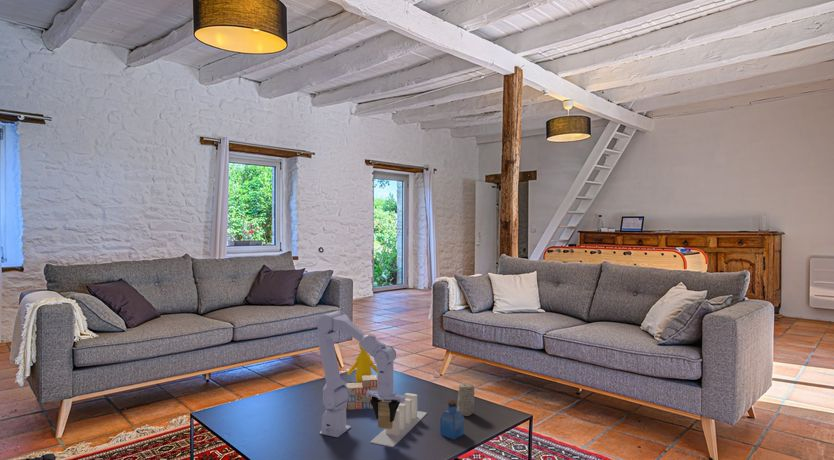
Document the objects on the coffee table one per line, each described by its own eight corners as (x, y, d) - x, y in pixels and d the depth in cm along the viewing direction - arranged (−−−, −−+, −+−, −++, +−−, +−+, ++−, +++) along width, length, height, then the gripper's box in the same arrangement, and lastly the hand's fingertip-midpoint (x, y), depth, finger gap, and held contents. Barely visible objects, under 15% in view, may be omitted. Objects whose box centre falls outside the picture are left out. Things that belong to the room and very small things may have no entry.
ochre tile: (390, 429, 168) (390, 404, 168) (378, 427, 170) (378, 402, 170) (392, 427, 170) (392, 402, 170) (380, 425, 172) (380, 400, 172)
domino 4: (409, 424, 184) (409, 400, 184) (398, 422, 186) (398, 399, 186) (411, 422, 186) (411, 399, 186) (400, 420, 188) (400, 397, 188)
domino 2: (403, 429, 179) (403, 406, 179) (392, 427, 181) (392, 404, 181) (405, 427, 181) (405, 404, 181) (394, 425, 183) (394, 402, 183)
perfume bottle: (450, 429, 181) (450, 397, 181) (463, 433, 177) (464, 401, 177) (440, 434, 176) (440, 402, 176) (454, 439, 172) (454, 406, 172)
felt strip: (392, 447, 166) (392, 446, 166) (370, 442, 169) (370, 441, 169) (427, 413, 195) (427, 412, 195) (407, 409, 199) (407, 409, 199)
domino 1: (397, 435, 174) (397, 411, 174) (385, 433, 176) (385, 409, 176) (399, 433, 176) (399, 409, 176) (387, 431, 178) (387, 407, 178)
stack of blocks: (340, 410, 198) (340, 380, 198) (340, 404, 205) (340, 376, 204) (391, 408, 201) (391, 379, 201) (390, 402, 207) (390, 374, 207)
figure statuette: (383, 379, 236) (383, 335, 236) (380, 385, 229) (380, 339, 228) (347, 378, 238) (347, 334, 237) (344, 384, 230) (344, 338, 230)
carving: (466, 418, 190) (467, 388, 190) (453, 412, 196) (453, 383, 196) (477, 414, 194) (478, 385, 194) (464, 408, 200) (464, 380, 200)
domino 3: (415, 418, 189) (415, 396, 189) (404, 416, 191) (404, 394, 191) (417, 416, 191) (417, 394, 191) (406, 415, 193) (406, 392, 193)
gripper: (361, 382, 169) (361, 420, 169) (399, 388, 163) (399, 427, 164) (371, 376, 176) (371, 413, 176) (407, 381, 170) (407, 419, 170)
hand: (385, 419), depth 170 cm, fingers closed on ochre tile, 5 cm apart
